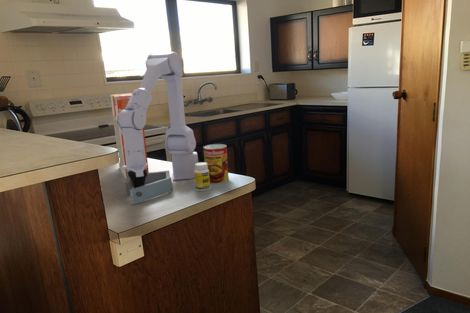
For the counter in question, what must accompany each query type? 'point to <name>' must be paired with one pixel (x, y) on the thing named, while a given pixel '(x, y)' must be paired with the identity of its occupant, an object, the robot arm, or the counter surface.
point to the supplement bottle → (202, 177)
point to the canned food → (216, 162)
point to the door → (151, 190)
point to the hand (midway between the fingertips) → (139, 194)
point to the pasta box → (119, 105)
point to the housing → (147, 179)
